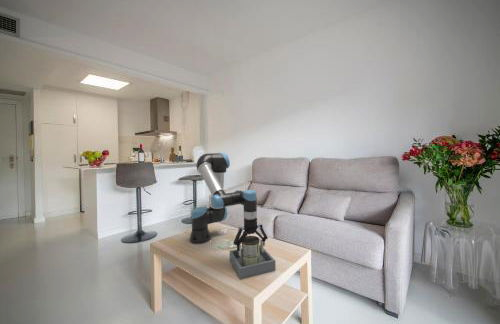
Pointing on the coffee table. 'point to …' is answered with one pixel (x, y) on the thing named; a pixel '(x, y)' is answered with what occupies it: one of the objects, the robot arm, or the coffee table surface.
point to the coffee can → (250, 250)
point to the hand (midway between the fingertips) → (251, 253)
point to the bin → (247, 271)
